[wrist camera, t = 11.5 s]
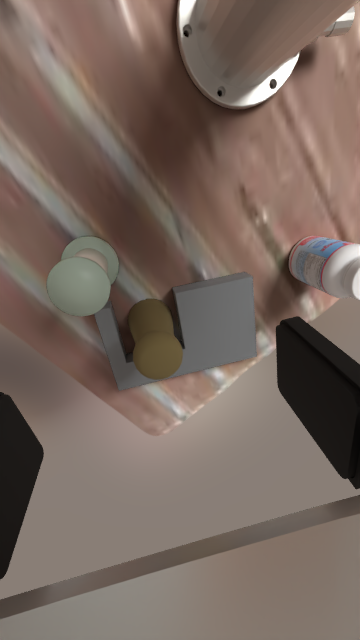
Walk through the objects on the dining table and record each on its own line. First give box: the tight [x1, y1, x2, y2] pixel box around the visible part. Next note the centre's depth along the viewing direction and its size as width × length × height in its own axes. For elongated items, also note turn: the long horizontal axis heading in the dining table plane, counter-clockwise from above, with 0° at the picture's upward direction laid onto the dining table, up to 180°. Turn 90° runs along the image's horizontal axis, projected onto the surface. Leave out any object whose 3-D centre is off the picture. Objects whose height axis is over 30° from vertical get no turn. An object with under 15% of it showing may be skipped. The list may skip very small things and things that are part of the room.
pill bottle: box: [289, 236, 360, 300], centre depth 33 cm, size 6×6×11 cm
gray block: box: [94, 272, 257, 391], centre depth 37 cm, size 20×12×2 cm, turn 100°
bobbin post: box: [47, 236, 119, 316], centre depth 28 cm, size 6×6×10 cm
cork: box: [128, 299, 183, 380], centre depth 32 cm, size 6×6×11 cm
